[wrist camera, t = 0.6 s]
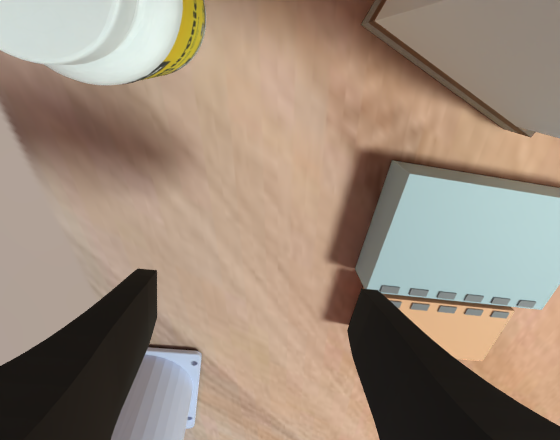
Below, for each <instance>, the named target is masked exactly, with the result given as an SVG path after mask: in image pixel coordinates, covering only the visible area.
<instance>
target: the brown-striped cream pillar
mask: <svg viewBox="0 0 560 440" xmlns="http://www.w3.org/2000/svg"><path fill="white" fill-rule="evenodd" d="M361 25H362V26H363V27H365V28H366V29H367V30H369V31H370V32H372V33H373V34H374V35H376V36H377V37H378V38H380V39H381V40H382V41H384V42H385V43H387V44H388V45H389V46H391V47H392V48H393V49H395V50H396V51H398V52H399V53H400V54H402V55H403V56H404V57H406V58H407V59H409V60H410V61H411V62H413V63H414V64H415V65H417V66H418V67H420V68H421V69H422V70H424V71H425V72H426V73H428V74H429V75H431V76H432V77H433V78H435V79H436V80H437V81H439V82H440V83H441V84H443V85H444V86H446V87H447V88H448V89H450V90H451V91H452V92H454V93H455V94H457V95H458V96H459V97H461V98H462V99H463V100H465V101H466V102H468V103H469V104H470V105H472V106H473V107H474V108H476V109H477V110H479V111H480V112H481V113H483V114H484V115H485V116H487V117H488V118H489V119H491V120H492V121H494V122H495V123H496V124H498V125H499V126H500V127H502V128H503V129H505V130H508V131H511V132H515V133H518V134H521V135H525V136H528V137H532V136H533V134H534V133H535V132H539V133H542V134H546V135H550V136H553V137H557V138H560V0H375V1H374V3H373V5H372V7H371V8H370V10H369V12H368V14H367V15H366V17H365V19H364V20H363V22H362V24H361Z"/></svg>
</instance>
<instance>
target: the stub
mask: <svg viewBox="0 0 560 440" xmlns="http://www.w3.org/2000/svg"><path fill="white" fill-rule="evenodd" d="M363 289H364V287H363ZM382 294H383V293H382ZM383 295H384V296H385V297H386V298H387V299H388V300H390V301H391V302H392V303H393V304H394V305H395V306H396V307H397V308H398V309H399V310H400V311H401V312H402V313H404V314H405V315H406V316H407V317H408V318H409V319H410V320H411V321H412V322H413V323H414V324H415V325H417V326H418V327H419V328H420V329H421V330H422V331H423V332H424V333H425V334H427V335H428V336H429V337H430V338H431V339H432V340H433V341H435V342H436V343H437V344H438V345H439V346H441V347H442V348H443V349H444V350H445V351H447V352H448V353H449V354H450V355H452V356H453V357H454V358H455V359H461V360H475V361H483V359H484V358H485V356H486V355H487V353H488V352H489V350H490V349H491V347H492V346H493V344H494V342H495V341H496V339H497V338H498V336H499V335H500V333H501V332H502V330H503V329H504V327H505V326H506V324H507V322H508V321H509V319H510V318H511V316H512V315H513V313H514V312H515V311H514V310H513V309H512V308H511V307H510V306H500V305H490V304H481V303H471V302H461V301H451V300H442V299H432V298H422V297H412V296H403V295H393V294H383Z"/></svg>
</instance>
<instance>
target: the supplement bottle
mask: <svg viewBox="0 0 560 440" xmlns="http://www.w3.org/2000/svg"><path fill="white" fill-rule="evenodd" d="M205 28H206V9H205V3H204V0H0V50H1V51H3V52H5V53H7V54H9V55H11V56H14V57H16V58H19V59H22V60H26V61H30V62H33V63H38V64H44V65H45V66H47V67H49V68H50V69H52V70H53V71H55V72H57V73H59V74H61V75H63V76H66V77H68V78H70V79H73V80H76V81H79V82H83V83H88V84H94V85H120V84H128V83H133V82H136V81H139V80H143V79H149V78H153V77H158V76H162V75H167V74H170V73H173V72H175V71H177V70H179V69H181V68H182V67H184V66H185V65H186V64H188V63H189V62H190V61H191V60H192V59H193V57H194V56H195V55H196V53H197V52H198V50H199V48H200V46H201V44H202V41H203V38H204V34H205Z"/></svg>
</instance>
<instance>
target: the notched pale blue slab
mask: <svg viewBox="0 0 560 440" xmlns="http://www.w3.org/2000/svg"><path fill="white" fill-rule="evenodd" d="M355 270H356V272H357V274H358V276H359V278H360V280H361V283H362V285H363V287H364V289H372V290H378V291H379V292H381V293H383V294H393V295H403V296H412V297H422V298H432V299H442V300H451V301H461V302H471V303H481V304H490V305H500V306H510V307H520V308H529V309H539V310H542V309H543V307H544V306H545V304H546V303H547V302H548V300H549V299H550V297H551V296H552V294H553V293H554V292H555V290H556V289H557V287H558V286H559V284H560V188H557V187H551V186H545V185H539V184H533V183H527V182H521V181H515V180H509V179H503V178H497V177H491V176H485V175H479V174H472V173H466V172H460V171H454V170H448V169H442V168H436V167H430V166H424V165H418V164H412V163H406V162H400V161H394V160H392V162H391V165H390V168H389V171H388V174H387V177H386V180H385V183H384V185H383V188H382V191H381V194H380V197H379V200H378V203H377V206H376V209H375V212H374V215H373V218H372V221H371V224H370V226H369V229H368V232H367V235H366V238H365V241H364V244H363V247H362V250H361V253H360V256H359V259H358V262H357V265H356V267H355Z"/></svg>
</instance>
